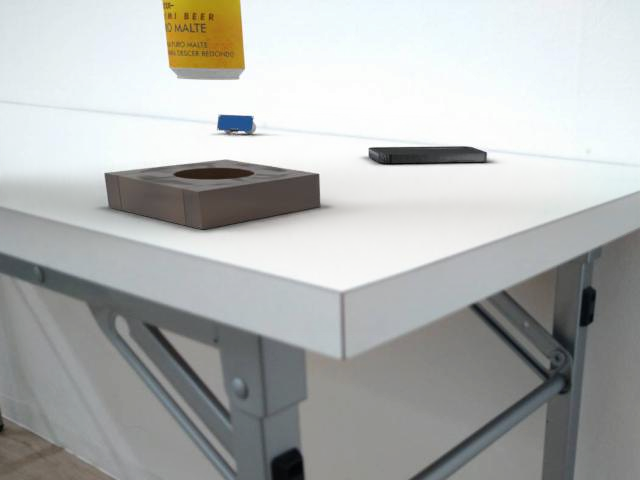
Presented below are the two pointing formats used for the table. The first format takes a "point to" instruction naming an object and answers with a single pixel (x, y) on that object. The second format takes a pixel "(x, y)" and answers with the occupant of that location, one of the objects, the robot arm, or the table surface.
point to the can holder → (212, 192)
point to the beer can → (204, 38)
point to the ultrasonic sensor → (236, 124)
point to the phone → (427, 154)
